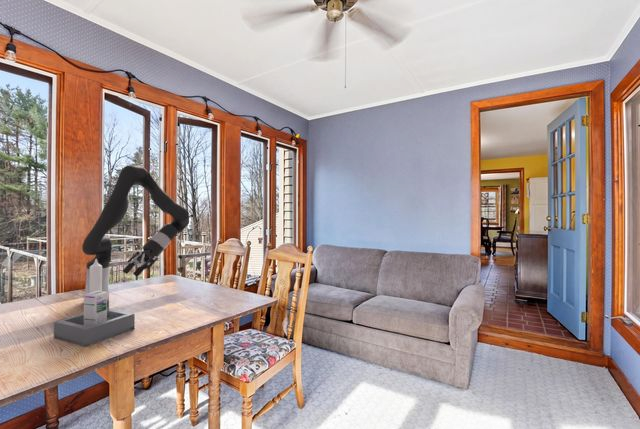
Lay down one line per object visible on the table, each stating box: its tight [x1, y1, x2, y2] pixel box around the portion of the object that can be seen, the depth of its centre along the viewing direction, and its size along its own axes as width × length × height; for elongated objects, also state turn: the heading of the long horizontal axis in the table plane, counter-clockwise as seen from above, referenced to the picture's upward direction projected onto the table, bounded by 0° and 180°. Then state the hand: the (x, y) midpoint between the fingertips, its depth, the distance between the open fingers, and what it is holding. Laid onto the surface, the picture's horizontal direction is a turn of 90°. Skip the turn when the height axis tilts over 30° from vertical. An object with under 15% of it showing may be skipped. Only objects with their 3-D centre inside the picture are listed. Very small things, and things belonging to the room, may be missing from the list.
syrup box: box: [83, 291, 110, 327], centre depth 117 cm, size 6×6×14 cm
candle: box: [89, 259, 102, 293], centre depth 136 cm, size 7×7×25 cm
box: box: [53, 307, 136, 348], centre depth 117 cm, size 18×18×6 cm
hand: (129, 273), depth 127 cm, fingers open, 8 cm apart
